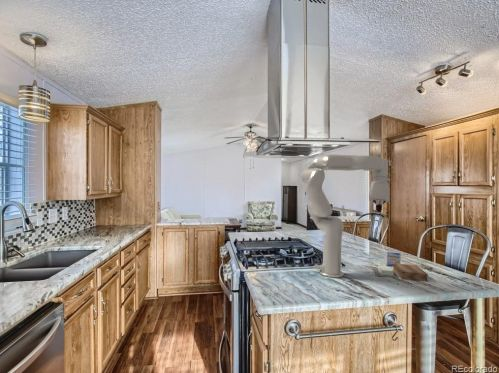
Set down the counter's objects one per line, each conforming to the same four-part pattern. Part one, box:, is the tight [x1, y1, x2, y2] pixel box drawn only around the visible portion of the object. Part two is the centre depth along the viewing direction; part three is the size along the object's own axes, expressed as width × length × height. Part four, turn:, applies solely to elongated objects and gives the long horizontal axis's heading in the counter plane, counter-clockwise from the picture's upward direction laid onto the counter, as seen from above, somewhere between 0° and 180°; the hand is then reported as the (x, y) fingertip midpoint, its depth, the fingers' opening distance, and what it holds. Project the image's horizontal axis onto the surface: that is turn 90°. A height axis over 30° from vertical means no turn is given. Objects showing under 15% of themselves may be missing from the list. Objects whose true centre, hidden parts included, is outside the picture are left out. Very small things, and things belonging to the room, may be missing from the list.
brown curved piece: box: [392, 263, 429, 282], centre depth 151 cm, size 12×16×4 cm
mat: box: [371, 267, 400, 279], centre depth 154 cm, size 11×14×1 cm
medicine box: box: [384, 250, 402, 268], centre depth 170 cm, size 8×4×9 cm, turn 76°
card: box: [377, 265, 395, 276], centre depth 154 cm, size 6×9×2 cm, turn 166°
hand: (378, 211), depth 158 cm, fingers closed
